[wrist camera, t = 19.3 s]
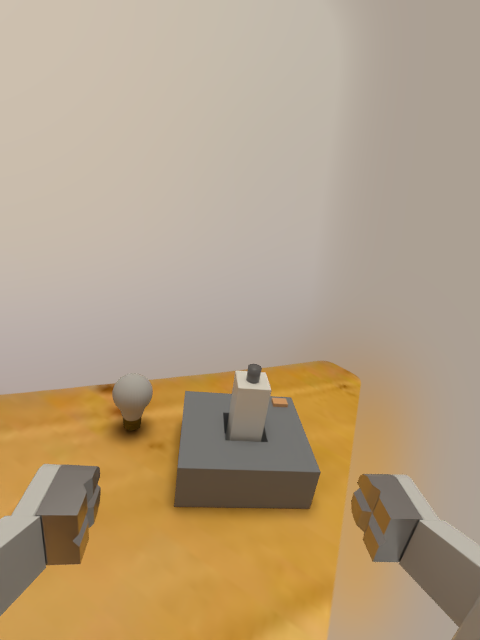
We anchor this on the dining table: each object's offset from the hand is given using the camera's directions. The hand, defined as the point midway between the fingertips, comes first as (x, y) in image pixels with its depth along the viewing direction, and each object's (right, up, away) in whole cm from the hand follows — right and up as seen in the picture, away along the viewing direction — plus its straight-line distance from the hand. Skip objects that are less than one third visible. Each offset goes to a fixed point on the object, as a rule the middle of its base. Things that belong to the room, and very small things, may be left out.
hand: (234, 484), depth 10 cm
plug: (0, -14, +40) cm, 42 cm away
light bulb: (-17, -13, +44) cm, 49 cm away
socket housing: (0, -16, +41) cm, 44 cm away
